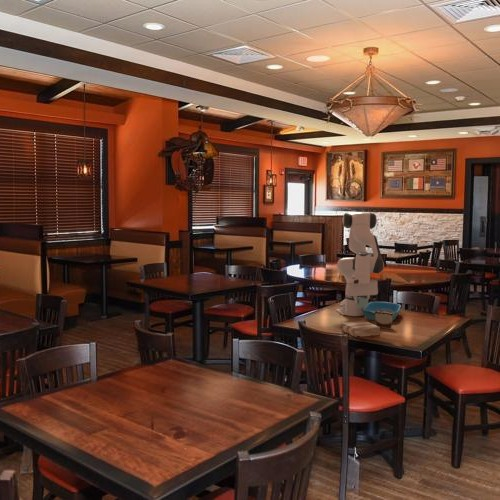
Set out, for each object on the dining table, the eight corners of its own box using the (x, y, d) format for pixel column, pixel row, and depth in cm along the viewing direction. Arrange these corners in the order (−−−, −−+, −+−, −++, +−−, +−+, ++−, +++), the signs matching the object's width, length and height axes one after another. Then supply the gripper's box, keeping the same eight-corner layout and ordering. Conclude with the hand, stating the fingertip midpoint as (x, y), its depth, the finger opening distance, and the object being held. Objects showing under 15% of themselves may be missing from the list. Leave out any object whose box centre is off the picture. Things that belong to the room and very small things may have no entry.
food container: (396, 327, 342) (396, 311, 341) (393, 329, 337) (393, 312, 336) (376, 324, 348) (377, 308, 347) (373, 326, 343) (374, 310, 342)
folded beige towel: (341, 330, 333) (342, 322, 332) (365, 329, 338) (365, 321, 337) (355, 337, 318) (355, 329, 317) (379, 335, 323) (379, 327, 322)
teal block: (355, 306, 327) (355, 297, 327) (362, 305, 329) (363, 297, 329) (359, 307, 323) (360, 299, 322) (367, 307, 324) (367, 298, 324)
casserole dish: (395, 324, 350) (396, 313, 349) (360, 321, 358) (360, 310, 357) (402, 313, 384) (402, 302, 383) (369, 310, 392) (370, 300, 391)
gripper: (374, 278, 331) (373, 301, 332) (344, 279, 324) (343, 303, 325) (380, 279, 325) (379, 303, 326) (349, 281, 318) (349, 304, 320)
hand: (361, 303), depth 326 cm, fingers closed on teal block, 5 cm apart
